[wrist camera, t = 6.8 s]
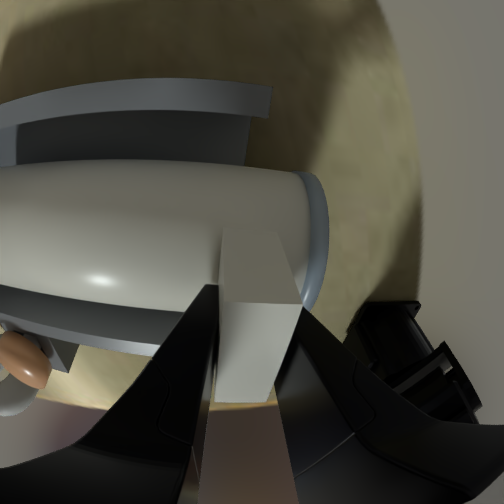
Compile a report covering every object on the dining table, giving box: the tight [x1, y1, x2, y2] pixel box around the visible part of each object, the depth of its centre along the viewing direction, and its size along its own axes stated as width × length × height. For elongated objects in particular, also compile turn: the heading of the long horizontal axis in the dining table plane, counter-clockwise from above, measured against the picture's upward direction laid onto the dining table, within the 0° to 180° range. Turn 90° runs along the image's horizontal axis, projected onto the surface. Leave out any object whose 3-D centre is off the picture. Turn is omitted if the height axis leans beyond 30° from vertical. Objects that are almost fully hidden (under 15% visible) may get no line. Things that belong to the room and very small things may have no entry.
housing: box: [0, 78, 273, 373], centre depth 12 cm, size 18×18×6 cm
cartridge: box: [0, 159, 329, 402], centre depth 9 cm, size 17×6×9 cm, turn 82°
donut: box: [0, 334, 39, 416], centre depth 15 cm, size 10×4×10 cm, turn 87°
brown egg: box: [0, 331, 52, 389], centre depth 13 cm, size 4×4×6 cm
